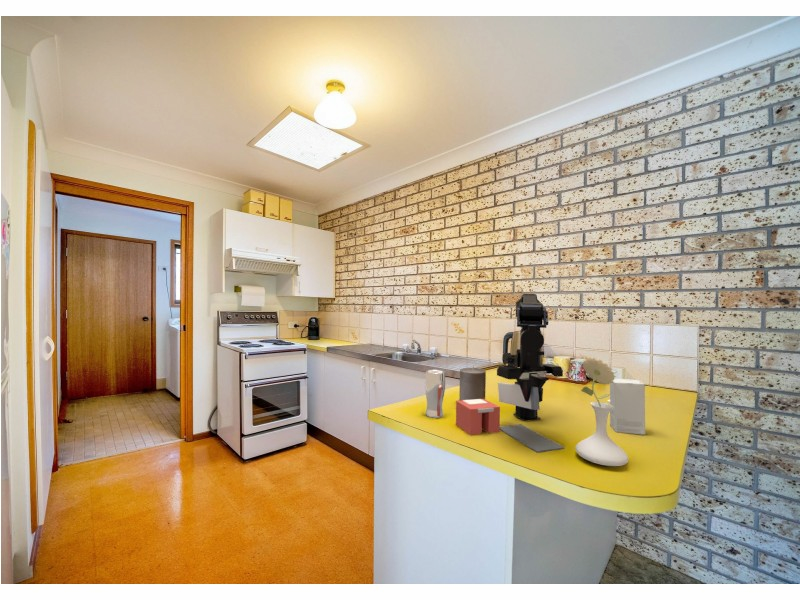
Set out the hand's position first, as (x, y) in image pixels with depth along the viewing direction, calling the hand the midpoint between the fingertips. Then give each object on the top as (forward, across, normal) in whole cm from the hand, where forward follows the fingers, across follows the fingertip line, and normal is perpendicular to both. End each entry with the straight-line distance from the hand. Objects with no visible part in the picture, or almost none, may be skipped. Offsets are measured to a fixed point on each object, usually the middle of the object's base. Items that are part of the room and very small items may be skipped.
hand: (529, 401), depth 97 cm
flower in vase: (+11, -9, +15) cm, 21 cm away
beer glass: (+11, +18, -26) cm, 33 cm away
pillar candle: (+11, 0, -32) cm, 34 cm away
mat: (+11, 0, -1) cm, 11 cm away
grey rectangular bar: (+3, 0, -5) cm, 6 cm away
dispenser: (+11, +10, -11) cm, 19 cm away
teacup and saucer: (+12, -65, -23) cm, 70 cm away
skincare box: (+11, -35, +2) cm, 37 cm away
